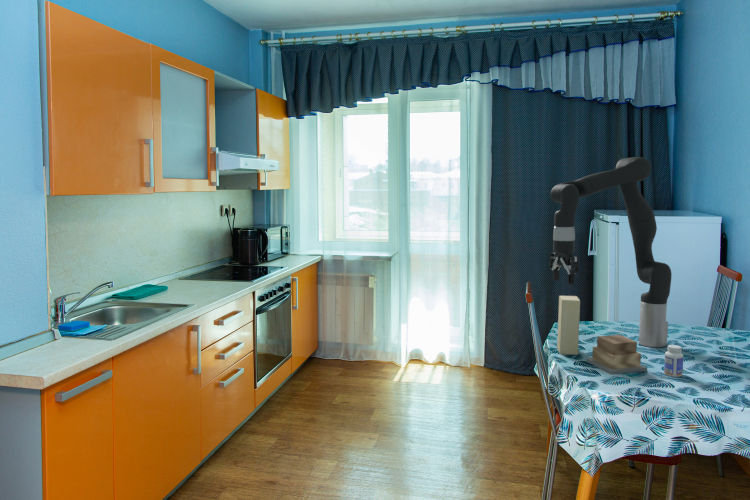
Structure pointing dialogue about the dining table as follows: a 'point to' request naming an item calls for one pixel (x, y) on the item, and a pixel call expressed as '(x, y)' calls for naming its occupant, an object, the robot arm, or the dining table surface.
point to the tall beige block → (568, 325)
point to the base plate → (616, 371)
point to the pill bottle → (673, 361)
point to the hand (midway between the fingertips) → (563, 282)
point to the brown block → (616, 352)
